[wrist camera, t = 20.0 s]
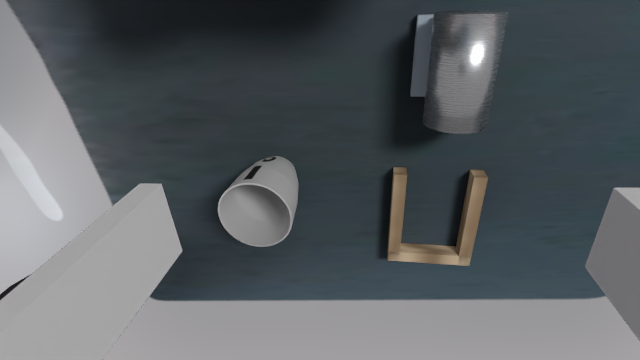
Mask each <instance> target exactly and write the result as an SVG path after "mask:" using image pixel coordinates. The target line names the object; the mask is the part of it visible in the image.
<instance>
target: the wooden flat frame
mask: <svg viewBox="0 0 640 360" xmlns="http://www.w3.org/2000/svg"><path fill="white" fill-rule="evenodd" d="M487 180H488V177H487V175H486V174H485V172H484V170H470V173H469V179H468V184H467V189H466V195H465V200H464V206H463V211H462V217H461V222H460V227H459V233H458V238H457V244H456V246H442V245H426V244H409V243H401V235H402V225H403V214H404V203H405V193H406V182H407V171H406V168H403V167H393V180H392V194H391V208H390V221H389V235H388V249H387V254H388V260H390V261H405V262H420V263H435V264H450V265H465V266H469V264H470V260H471V255H472V250H473V246H474V241H475V236H476V232H477V227H478V222H479V218H480V213H481V208H482V204H483V199H484V194H485V189H486V185H487Z"/></svg>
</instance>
